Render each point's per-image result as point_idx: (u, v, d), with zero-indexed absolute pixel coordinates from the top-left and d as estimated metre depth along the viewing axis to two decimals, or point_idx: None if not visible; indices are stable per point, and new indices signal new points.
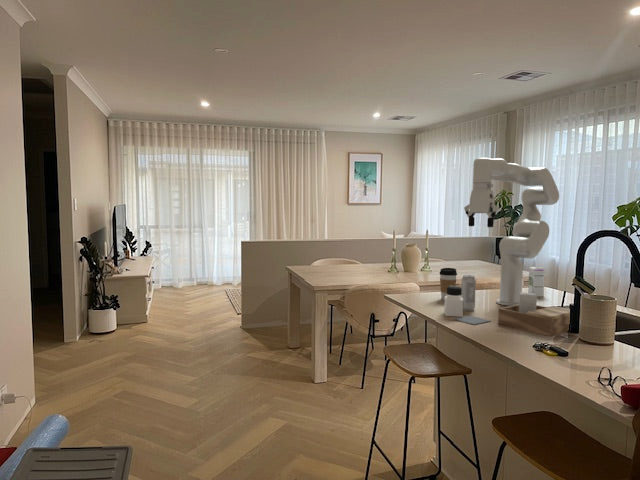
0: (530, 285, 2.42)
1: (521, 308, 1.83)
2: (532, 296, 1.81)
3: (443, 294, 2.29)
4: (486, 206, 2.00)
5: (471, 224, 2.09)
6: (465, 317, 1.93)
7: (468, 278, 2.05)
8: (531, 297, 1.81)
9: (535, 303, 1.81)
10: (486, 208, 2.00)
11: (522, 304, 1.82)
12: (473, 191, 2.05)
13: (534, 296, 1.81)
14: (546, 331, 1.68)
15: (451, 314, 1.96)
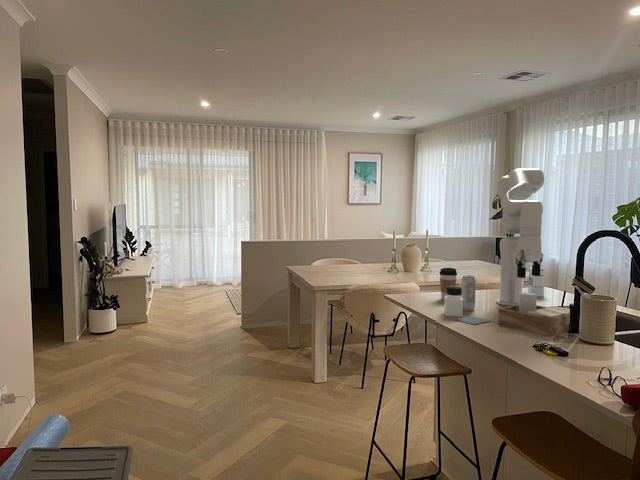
0: (530, 285, 2.42)
1: (521, 308, 1.83)
2: (532, 296, 1.81)
3: (443, 294, 2.29)
4: (540, 253, 1.83)
5: None
6: (465, 317, 1.93)
7: (468, 278, 2.05)
8: (531, 297, 1.81)
9: (535, 303, 1.81)
10: (540, 256, 1.83)
11: (522, 304, 1.82)
12: (531, 237, 1.79)
13: (534, 296, 1.81)
14: (546, 331, 1.68)
15: (451, 314, 1.96)
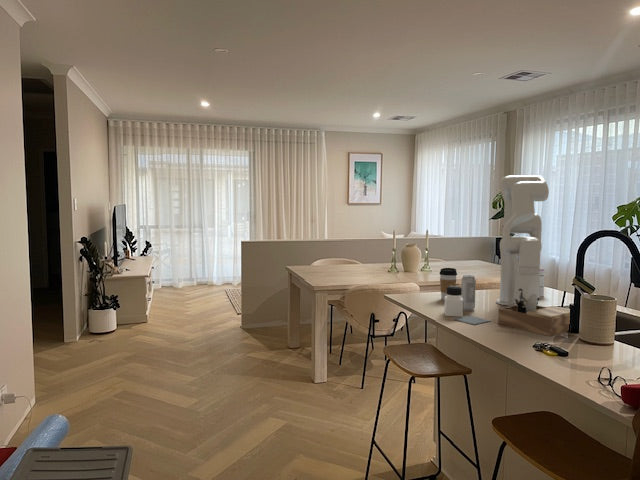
0: None
1: None
2: (532, 296, 1.81)
3: (443, 294, 2.29)
4: (539, 291, 1.84)
5: None
6: (465, 317, 1.93)
7: (468, 278, 2.05)
8: None
9: (535, 303, 1.81)
10: (538, 294, 1.84)
11: None
12: (530, 276, 1.80)
13: (534, 296, 1.81)
14: (546, 331, 1.68)
15: (451, 314, 1.96)
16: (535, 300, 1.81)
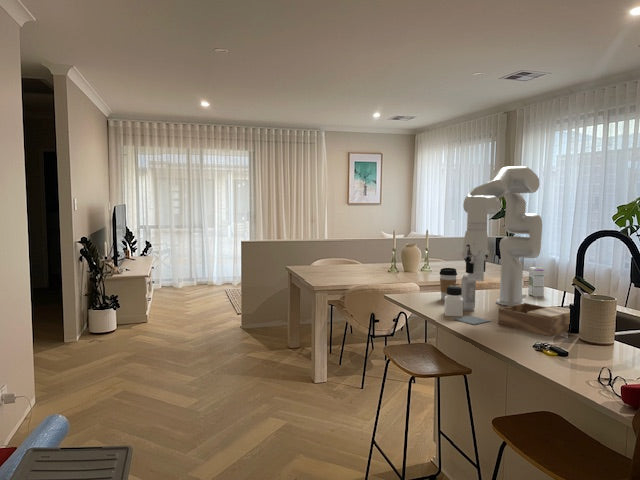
0: (530, 285, 2.42)
1: None
2: (480, 252, 1.84)
3: (443, 294, 2.29)
4: (487, 248, 1.87)
5: None
6: (465, 317, 1.93)
7: None
8: (479, 253, 1.84)
9: (483, 259, 1.84)
10: (486, 250, 1.87)
11: None
12: (477, 232, 1.83)
13: (482, 252, 1.84)
14: (546, 331, 1.68)
15: (451, 314, 1.96)
16: (483, 256, 1.84)
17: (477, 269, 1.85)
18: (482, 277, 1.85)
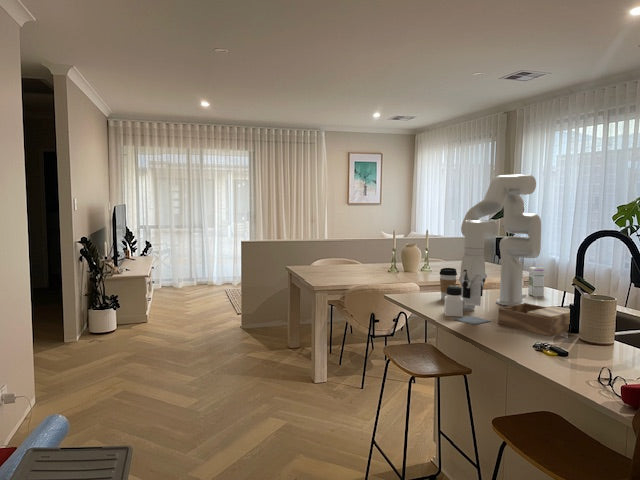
0: (530, 285, 2.42)
1: None
2: (477, 277, 1.85)
3: (443, 294, 2.29)
4: (484, 272, 1.88)
5: None
6: (465, 317, 1.93)
7: None
8: (476, 278, 1.85)
9: (479, 284, 1.85)
10: (483, 275, 1.88)
11: None
12: (474, 257, 1.84)
13: (478, 277, 1.85)
14: (546, 331, 1.68)
15: (451, 314, 1.96)
16: (479, 281, 1.85)
17: (474, 294, 1.86)
18: (479, 302, 1.85)
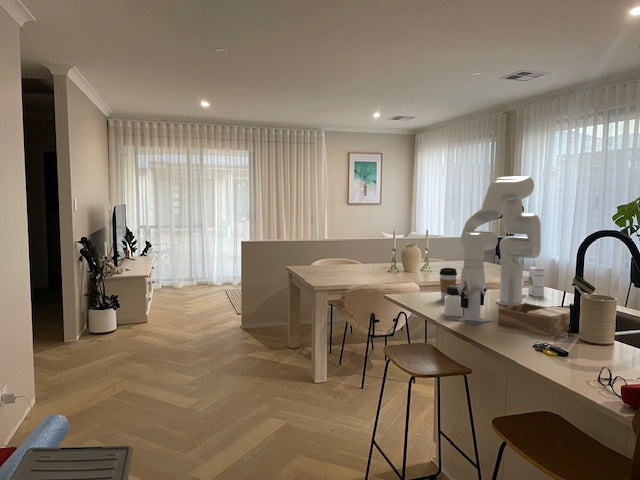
0: (530, 285, 2.42)
1: None
2: (476, 292, 1.86)
3: (443, 294, 2.29)
4: (484, 284, 1.88)
5: None
6: None
7: None
8: (475, 294, 1.86)
9: (479, 299, 1.85)
10: (483, 286, 1.89)
11: None
12: (474, 269, 1.84)
13: (478, 292, 1.85)
14: (546, 331, 1.68)
15: (451, 314, 1.96)
16: (479, 296, 1.85)
17: (473, 309, 1.86)
18: (478, 317, 1.86)
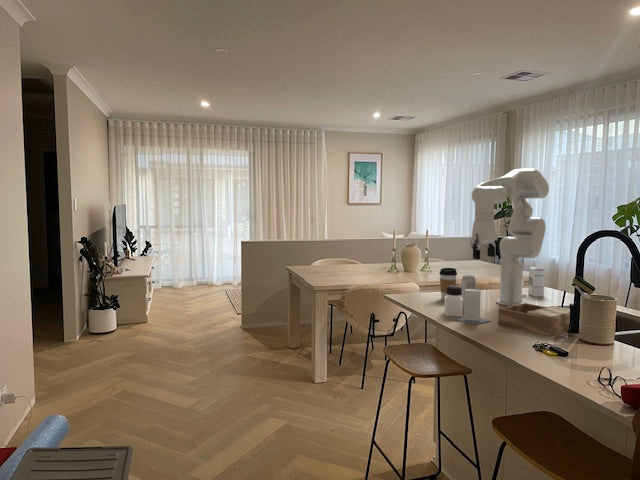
0: (530, 285, 2.42)
1: (466, 304, 1.87)
2: (476, 292, 1.86)
3: (443, 294, 2.29)
4: (494, 236, 1.98)
5: None
6: None
7: (468, 278, 2.05)
8: (475, 294, 1.86)
9: (479, 299, 1.85)
10: (494, 238, 1.98)
11: (466, 300, 1.87)
12: (485, 222, 1.93)
13: (478, 292, 1.85)
14: (546, 331, 1.68)
15: (451, 314, 1.96)
16: (479, 296, 1.85)
17: (473, 309, 1.86)
18: (478, 317, 1.86)
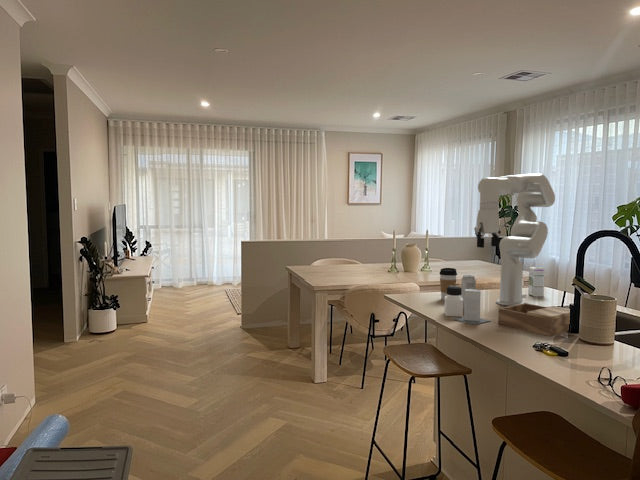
0: (530, 285, 2.42)
1: (466, 304, 1.87)
2: (476, 292, 1.86)
3: (443, 294, 2.29)
4: (498, 226, 2.02)
5: None
6: None
7: (468, 278, 2.05)
8: (475, 294, 1.86)
9: (479, 299, 1.85)
10: (498, 228, 2.03)
11: (466, 300, 1.87)
12: (489, 211, 1.98)
13: (478, 292, 1.85)
14: (546, 331, 1.68)
15: (451, 314, 1.96)
16: (479, 296, 1.85)
17: (473, 309, 1.86)
18: (478, 317, 1.86)
